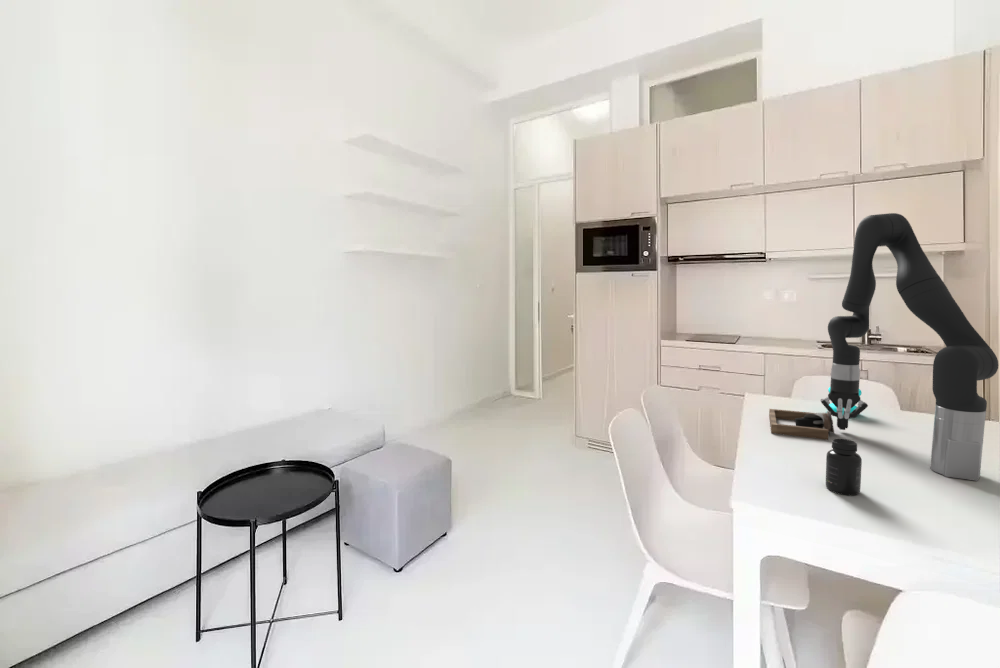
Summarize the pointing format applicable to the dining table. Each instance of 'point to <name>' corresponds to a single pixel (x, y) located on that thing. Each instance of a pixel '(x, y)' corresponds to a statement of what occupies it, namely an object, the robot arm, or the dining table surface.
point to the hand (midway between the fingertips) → (842, 429)
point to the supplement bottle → (843, 467)
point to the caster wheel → (816, 421)
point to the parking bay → (792, 429)
